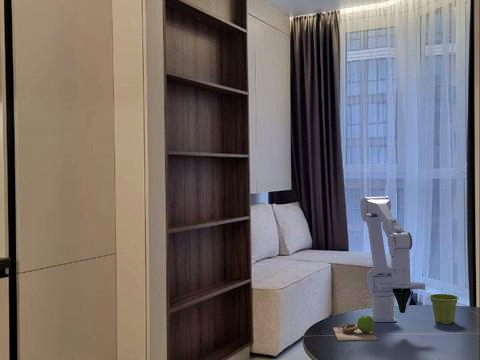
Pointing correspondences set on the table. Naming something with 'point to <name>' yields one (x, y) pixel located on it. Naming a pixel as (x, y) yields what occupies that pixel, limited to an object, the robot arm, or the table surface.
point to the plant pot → (444, 307)
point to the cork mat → (353, 335)
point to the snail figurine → (359, 325)
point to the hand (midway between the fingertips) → (402, 312)
